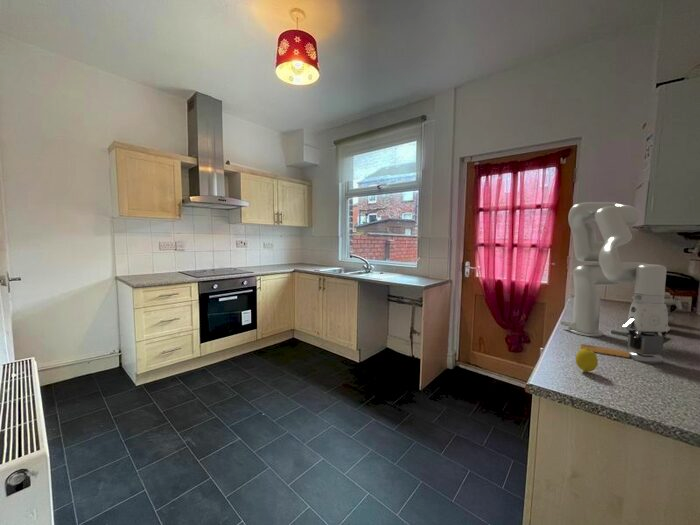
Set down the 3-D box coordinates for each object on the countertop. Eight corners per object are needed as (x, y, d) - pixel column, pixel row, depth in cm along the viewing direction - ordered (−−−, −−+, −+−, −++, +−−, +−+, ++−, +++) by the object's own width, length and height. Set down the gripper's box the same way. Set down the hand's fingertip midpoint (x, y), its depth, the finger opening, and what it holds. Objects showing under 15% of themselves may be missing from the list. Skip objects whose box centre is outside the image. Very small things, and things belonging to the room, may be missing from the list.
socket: (643, 354, 103) (645, 333, 102) (627, 347, 109) (629, 328, 108) (661, 354, 103) (663, 333, 102) (645, 348, 109) (646, 328, 108)
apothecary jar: (641, 330, 140) (644, 292, 139) (633, 323, 151) (636, 289, 149) (677, 334, 134) (680, 295, 133) (667, 327, 144) (670, 291, 143)
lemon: (598, 377, 92) (599, 352, 91) (575, 373, 95) (577, 349, 94) (595, 371, 96) (596, 347, 96) (574, 367, 99) (575, 344, 99)
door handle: (605, 331, 132) (656, 339, 119) (622, 324, 143) (670, 331, 129) (605, 338, 132) (656, 347, 119) (622, 331, 143) (670, 338, 129)
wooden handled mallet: (582, 352, 112) (582, 340, 112) (579, 345, 120) (580, 334, 119) (665, 366, 100) (667, 352, 99) (657, 357, 107) (658, 344, 107)
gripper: (632, 300, 101) (628, 351, 102) (685, 301, 100) (680, 352, 102) (614, 296, 109) (610, 344, 110) (663, 297, 108) (659, 345, 109)
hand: (644, 347), depth 106 cm, fingers closed on socket, 6 cm apart
